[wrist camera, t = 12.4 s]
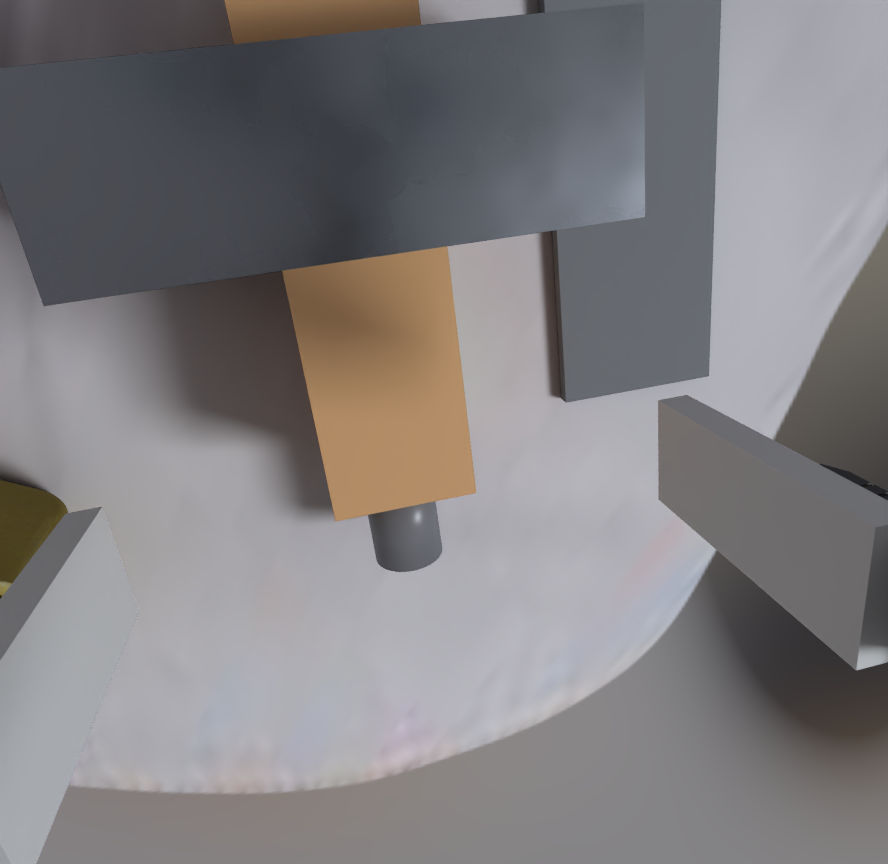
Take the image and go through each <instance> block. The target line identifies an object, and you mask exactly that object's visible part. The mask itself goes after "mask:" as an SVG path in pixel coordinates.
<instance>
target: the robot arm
mask: <svg viewBox="0 0 888 864" xmlns="http://www.w3.org/2000/svg"><path fill="white" fill-rule="evenodd" d="M658 450H659V500H660V501H661V502H662V503H663V504H665V505H666V506H667V507H668V508H669V509H670V510H671V511H673V512H674V513H675V514H676V515H677V516H678V517H680V518H681V519H682V520H683V521H684V522H685V523H687V524H688V525H689V526H690V527H691V528H692V529H693V530H695V531H696V532H697V533H698V534H699V535H700V536H702V537H703V538H704V539H705V540H706V541H707V542H708V543H710V544H711V545H712V546H713V547H714V548H715V549H717V550H718V551H719V552H720V553H721V554H722V555H724V556H725V557H726V558H727V559H728V560H729V561H730V562H732V563H733V564H734V565H735V566H736V567H737V568H739V569H740V570H741V571H742V572H743V573H744V574H746V575H747V576H748V577H749V578H750V579H751V580H752V581H754V582H755V583H756V584H757V585H758V586H759V587H760V588H762V589H763V590H764V591H765V592H766V593H768V594H769V595H770V596H771V597H772V598H773V599H774V600H775V601H777V602H778V603H779V604H780V605H781V606H782V607H784V608H785V609H786V610H787V611H788V612H789V613H791V614H792V615H793V616H794V617H795V618H796V619H797V620H799V621H800V622H801V623H802V624H803V625H804V626H805V627H807V628H808V629H809V630H810V631H811V632H812V633H814V634H815V635H816V636H817V637H818V638H819V639H820V640H822V641H823V642H824V643H825V644H826V645H827V646H829V647H830V648H831V649H832V650H833V651H835V652H836V653H837V654H838V655H839V656H840V657H841V658H843V659H844V660H845V661H846V662H847V663H848V664H850V665H851V666H852V667H853V668H854V669H855V670H859V669H863V668H867V667H871V666H875V665H878V664H882V663H886V662H888V491H886V490H884V489H882V488H880V487H878V486H876V485H874V486H872V485H871V483H870V482H868V481H866V480H864V479H862V478H860V477H858V476H857V475H854V474H853V473H851V472H848V471H845V470H841V469H838V468H834V467H830V466H827V465H823V464H817V463H815V462H813V461H812V460H810V459H808V458H806V457H804V456H802V455H800V454H798V453H796V452H794V451H793V450H791V449H789V448H787V447H785V446H783V445H781V444H779V443H777V442H775V441H774V440H772V439H770V438H768V437H766V436H764V435H762V434H760V433H758V432H756V431H754V430H753V429H751V428H749V427H747V426H745V425H743V424H741V423H739V422H737V421H735V420H734V419H732V418H730V417H728V416H726V415H724V414H722V413H720V412H718V411H716V410H715V409H713V408H711V407H709V406H707V405H705V404H703V403H701V402H699V401H697V400H695V399H694V398H692V397H690V396H688V395H684V396H679V397H674V398H669V399H663V400H658ZM138 612H139V608H138V605H137V602H136V600H135V597H134V594H133V591H132V588H131V586H130V583H129V580H128V577H127V574H126V572H125V569H124V566H123V563H122V560H121V558H120V555H119V552H118V549H117V546H116V544H115V541H114V538H113V535H112V533H111V530H110V527H109V524H108V521H107V519H106V516H105V513H104V510H103V507H98V508H93V509H88V510H83V511H77V512H72V513H67V514H65V515H64V516H63V518H62V519H61V520H60V522H59V523H58V524H57V525H56V527H55V528H54V529H53V531H52V532H51V533H50V535H49V536H48V537H47V539H46V540H45V541H44V542H43V544H42V545H41V546H40V548H39V549H38V550H37V552H36V553H35V554H34V556H33V557H32V558H31V560H30V561H29V562H28V563H27V565H26V566H25V567H24V569H23V570H22V571H21V573H20V574H19V575H18V577H17V578H16V579H15V580H14V582H13V583H12V584H11V586H10V587H9V588H8V590H7V591H6V592H5V594H4V595H3V596H2V597H1V599H0V864H36V862H37V860H38V858H39V855H40V853H41V850H42V848H43V845H44V843H45V841H46V838H47V836H48V833H49V831H50V828H51V826H52V823H53V821H54V818H55V816H56V813H57V811H58V809H59V806H60V804H61V801H62V799H63V796H64V794H65V792H66V789H67V787H68V784H69V782H70V779H71V777H72V774H73V772H74V769H75V767H76V765H77V762H78V760H79V757H80V755H81V752H82V750H83V747H84V745H85V742H86V740H87V738H88V735H89V733H90V730H91V728H92V725H93V723H94V720H95V718H96V715H97V713H98V711H99V708H100V706H101V703H102V701H103V698H104V696H105V693H106V691H107V688H108V686H109V684H110V681H111V679H112V676H113V674H114V671H115V669H116V666H117V664H118V662H119V659H120V657H121V654H122V652H123V649H124V647H125V644H126V642H127V639H128V637H129V635H130V632H131V630H132V627H133V625H134V622H135V620H136V617H137V615H138Z"/></svg>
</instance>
